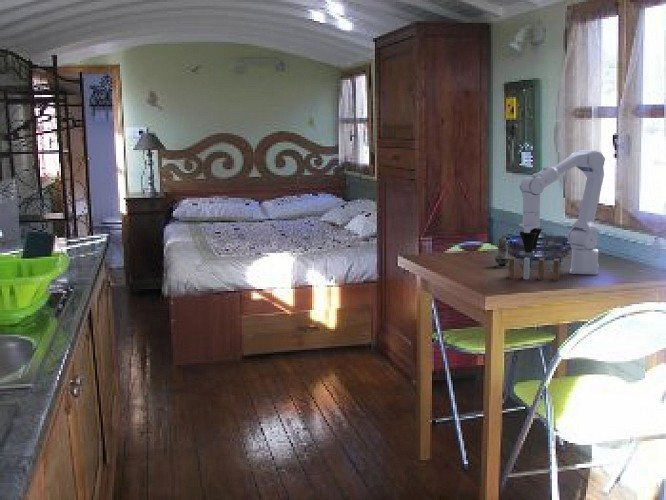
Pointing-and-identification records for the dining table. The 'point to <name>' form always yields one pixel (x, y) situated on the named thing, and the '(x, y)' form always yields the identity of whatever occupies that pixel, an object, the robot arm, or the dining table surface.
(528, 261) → the domino
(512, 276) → the domino
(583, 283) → the dining table surface
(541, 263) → the domino
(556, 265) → the domino
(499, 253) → the salt shaker
